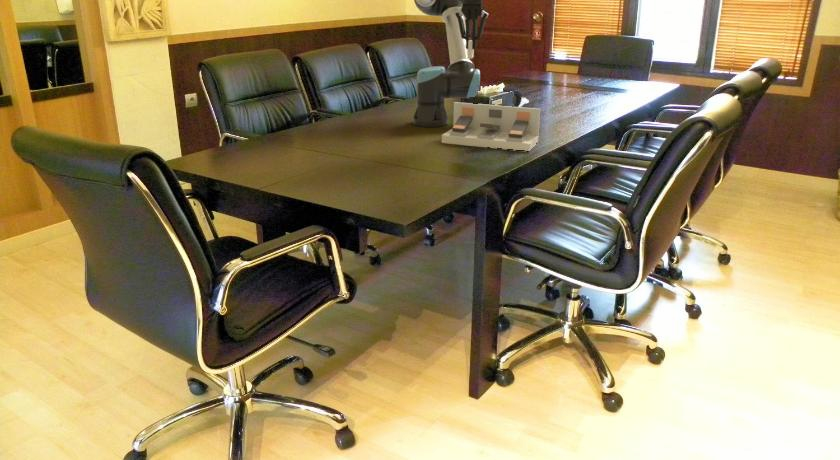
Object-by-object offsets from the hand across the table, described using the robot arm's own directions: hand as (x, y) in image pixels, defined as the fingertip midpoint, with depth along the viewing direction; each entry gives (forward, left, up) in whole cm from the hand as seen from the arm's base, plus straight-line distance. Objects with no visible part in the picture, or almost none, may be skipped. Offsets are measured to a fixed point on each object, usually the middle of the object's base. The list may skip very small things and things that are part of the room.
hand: (470, 57), depth 250 cm
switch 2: (+13, -14, -23) cm, 30 cm away
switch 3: (+24, -14, -23) cm, 36 cm away
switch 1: (+2, -14, -23) cm, 27 cm away
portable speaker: (-1, +45, -30) cm, 54 cm away
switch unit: (+13, -14, -29) cm, 35 cm away
